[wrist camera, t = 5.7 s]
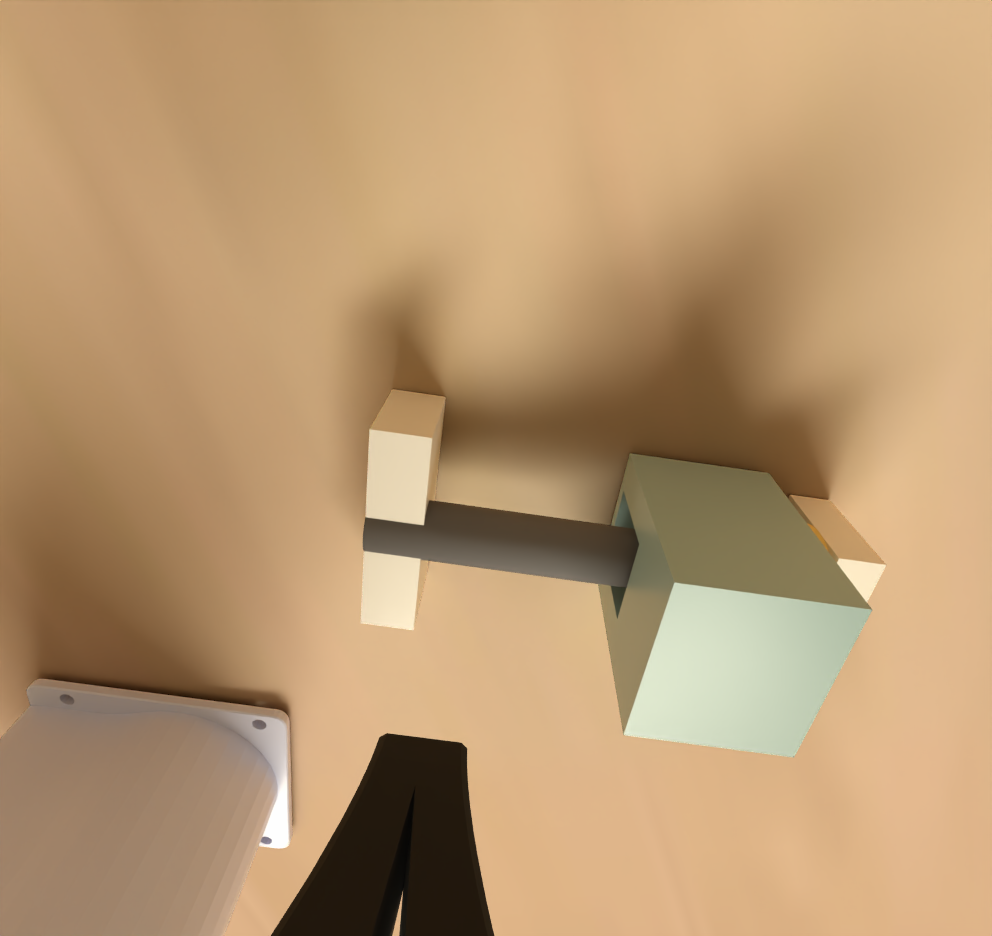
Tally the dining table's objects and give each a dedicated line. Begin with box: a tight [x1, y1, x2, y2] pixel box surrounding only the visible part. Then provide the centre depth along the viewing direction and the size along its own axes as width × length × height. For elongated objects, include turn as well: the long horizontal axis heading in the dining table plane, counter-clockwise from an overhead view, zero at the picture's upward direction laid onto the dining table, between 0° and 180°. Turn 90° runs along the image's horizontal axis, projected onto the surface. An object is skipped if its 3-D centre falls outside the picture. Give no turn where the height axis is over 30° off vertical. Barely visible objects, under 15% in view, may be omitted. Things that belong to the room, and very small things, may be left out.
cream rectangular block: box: [361, 389, 446, 630], centre depth 17 cm, size 2×6×3 cm, turn 173°
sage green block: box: [598, 453, 872, 757], centre depth 16 cm, size 4×4×6 cm
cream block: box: [788, 495, 886, 602], centre depth 17 cm, size 1×3×3 cm, turn 173°
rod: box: [363, 500, 828, 588], centre depth 17 cm, size 13×3×3 cm, turn 82°
